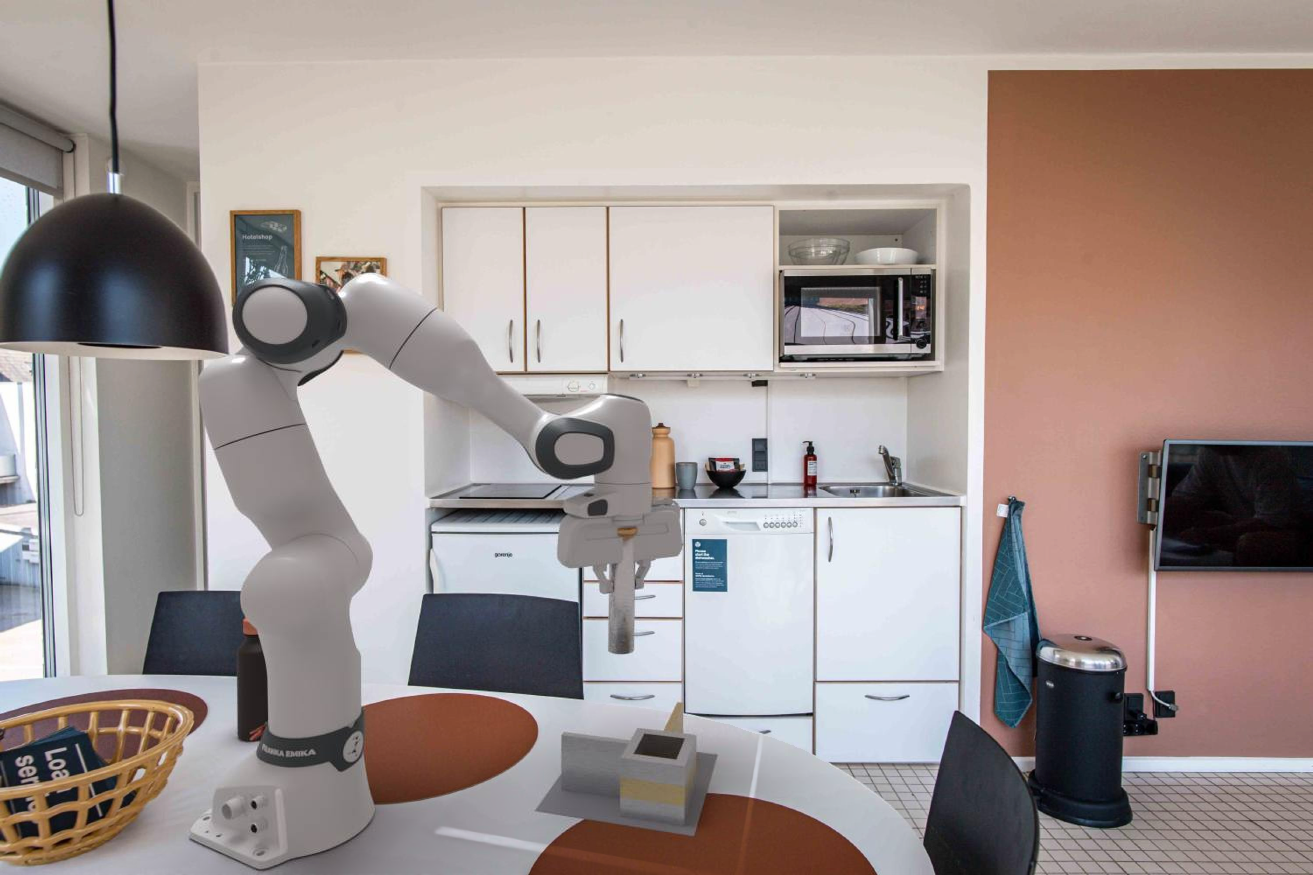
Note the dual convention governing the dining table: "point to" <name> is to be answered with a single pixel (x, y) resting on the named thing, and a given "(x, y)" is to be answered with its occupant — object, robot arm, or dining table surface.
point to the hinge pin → (622, 598)
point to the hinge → (636, 770)
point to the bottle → (251, 685)
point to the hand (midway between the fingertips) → (621, 590)
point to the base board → (610, 807)
